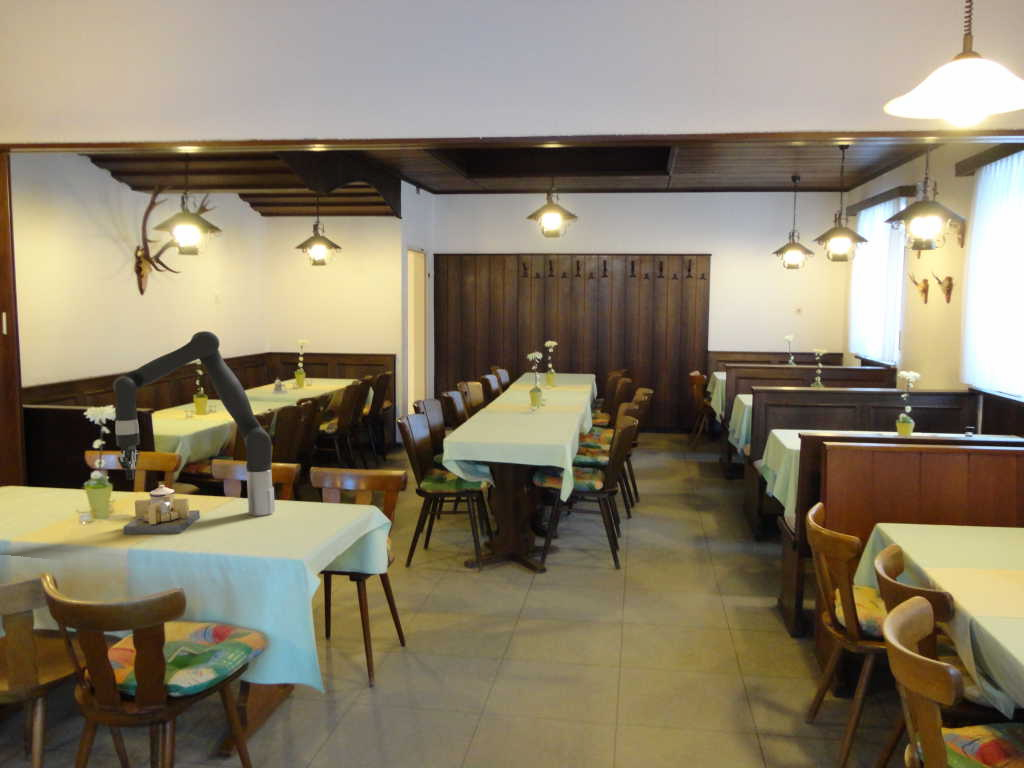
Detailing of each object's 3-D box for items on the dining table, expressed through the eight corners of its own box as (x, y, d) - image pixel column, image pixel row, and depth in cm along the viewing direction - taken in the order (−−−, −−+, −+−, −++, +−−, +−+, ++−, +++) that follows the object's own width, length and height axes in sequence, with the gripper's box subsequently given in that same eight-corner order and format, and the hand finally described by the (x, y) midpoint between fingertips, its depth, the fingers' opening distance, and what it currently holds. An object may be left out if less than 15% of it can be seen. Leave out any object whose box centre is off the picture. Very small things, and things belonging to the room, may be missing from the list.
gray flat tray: (199, 517, 307) (198, 495, 306) (180, 533, 287) (179, 508, 286) (146, 519, 306) (145, 496, 305) (124, 534, 286) (122, 510, 285)
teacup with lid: (167, 517, 308) (166, 488, 306) (145, 517, 309) (144, 487, 307) (184, 509, 319) (182, 481, 318) (163, 509, 321) (161, 480, 319)
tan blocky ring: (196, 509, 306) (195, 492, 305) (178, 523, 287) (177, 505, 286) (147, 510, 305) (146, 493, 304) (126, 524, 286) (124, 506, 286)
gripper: (130, 435, 280) (133, 483, 282) (145, 428, 293) (148, 475, 295) (108, 435, 279) (111, 483, 281) (124, 429, 293) (127, 475, 294)
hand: (130, 479), depth 288 cm, fingers closed
